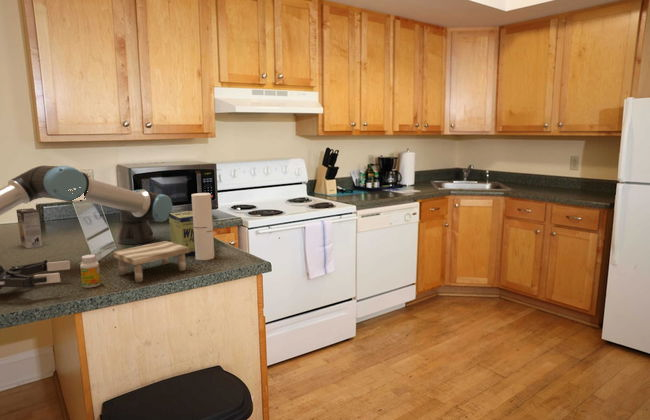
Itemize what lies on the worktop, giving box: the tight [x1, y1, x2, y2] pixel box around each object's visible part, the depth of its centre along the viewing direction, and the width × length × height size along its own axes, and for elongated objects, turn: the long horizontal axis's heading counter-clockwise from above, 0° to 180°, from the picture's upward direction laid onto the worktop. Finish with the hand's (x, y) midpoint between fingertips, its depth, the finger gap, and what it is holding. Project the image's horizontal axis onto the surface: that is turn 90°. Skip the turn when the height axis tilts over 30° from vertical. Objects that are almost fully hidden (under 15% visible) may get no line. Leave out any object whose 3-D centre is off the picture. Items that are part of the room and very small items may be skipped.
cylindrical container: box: [191, 192, 215, 261], centre depth 174 cm, size 7×7×25 cm
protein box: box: [168, 210, 195, 257], centre depth 186 cm, size 10×16×16 cm
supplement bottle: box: [79, 254, 102, 289], centre depth 146 cm, size 5×5×10 cm
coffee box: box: [16, 207, 44, 249], centre depth 198 cm, size 9×6×16 cm
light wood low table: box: [112, 240, 189, 283], centre depth 159 cm, size 16×20×8 cm
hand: (65, 270), depth 143 cm, fingers open, 13 cm apart
